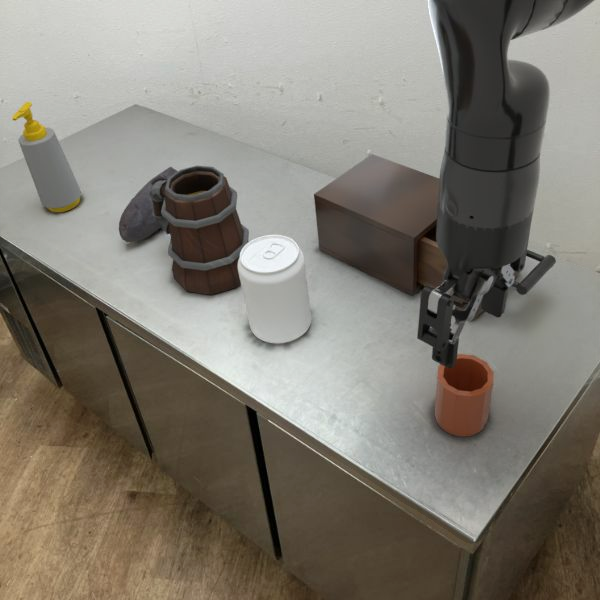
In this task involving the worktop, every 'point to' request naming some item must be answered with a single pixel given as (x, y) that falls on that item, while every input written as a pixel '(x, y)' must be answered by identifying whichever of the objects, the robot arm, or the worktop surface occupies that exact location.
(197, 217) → the mug
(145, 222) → the perforated stone tool
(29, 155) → the soap bottle
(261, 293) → the beverage can
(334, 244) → the cabinet
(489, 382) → the cup
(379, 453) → the worktop surface
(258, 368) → the worktop surface
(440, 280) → the drawer
